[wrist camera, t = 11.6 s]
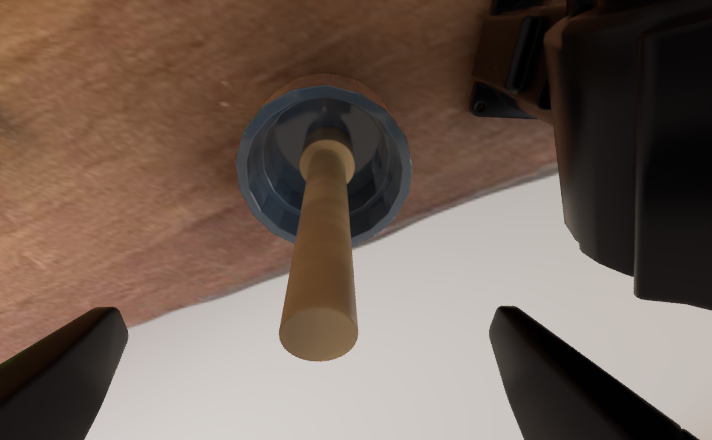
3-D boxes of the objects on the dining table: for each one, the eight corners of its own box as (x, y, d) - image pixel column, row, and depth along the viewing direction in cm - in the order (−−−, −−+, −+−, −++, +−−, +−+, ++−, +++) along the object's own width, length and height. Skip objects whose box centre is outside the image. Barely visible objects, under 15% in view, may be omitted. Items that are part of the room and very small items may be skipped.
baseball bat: (354, 126, 18) (386, 291, 7) (351, 174, 20) (374, 374, 8) (302, 124, 18) (249, 290, 7) (303, 173, 19) (262, 376, 8)
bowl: (404, 75, 17) (424, 89, 14) (388, 210, 21) (400, 251, 18) (249, 67, 17) (223, 79, 13) (263, 207, 21) (246, 249, 17)
